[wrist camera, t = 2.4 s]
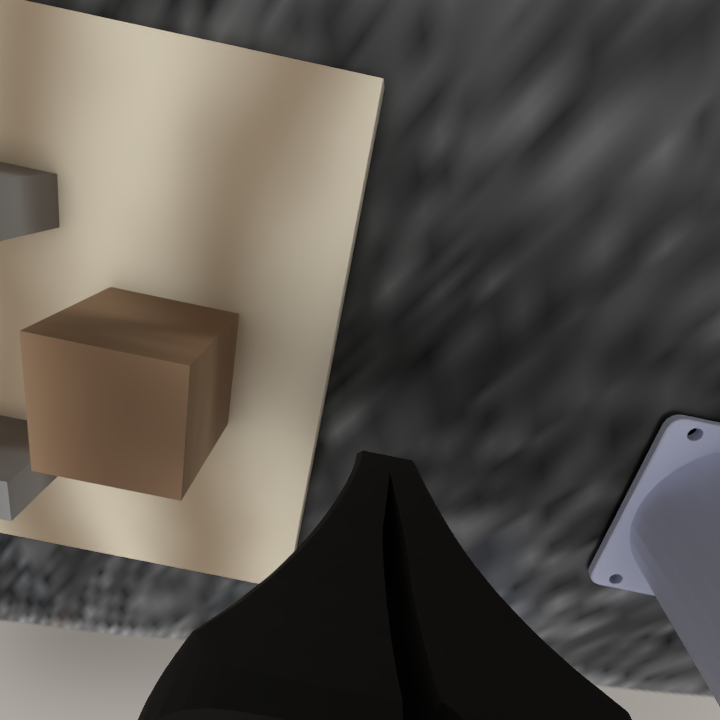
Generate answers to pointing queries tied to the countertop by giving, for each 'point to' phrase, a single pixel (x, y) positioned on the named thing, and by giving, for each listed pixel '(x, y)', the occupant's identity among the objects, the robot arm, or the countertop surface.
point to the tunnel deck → (179, 258)
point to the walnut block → (128, 390)
